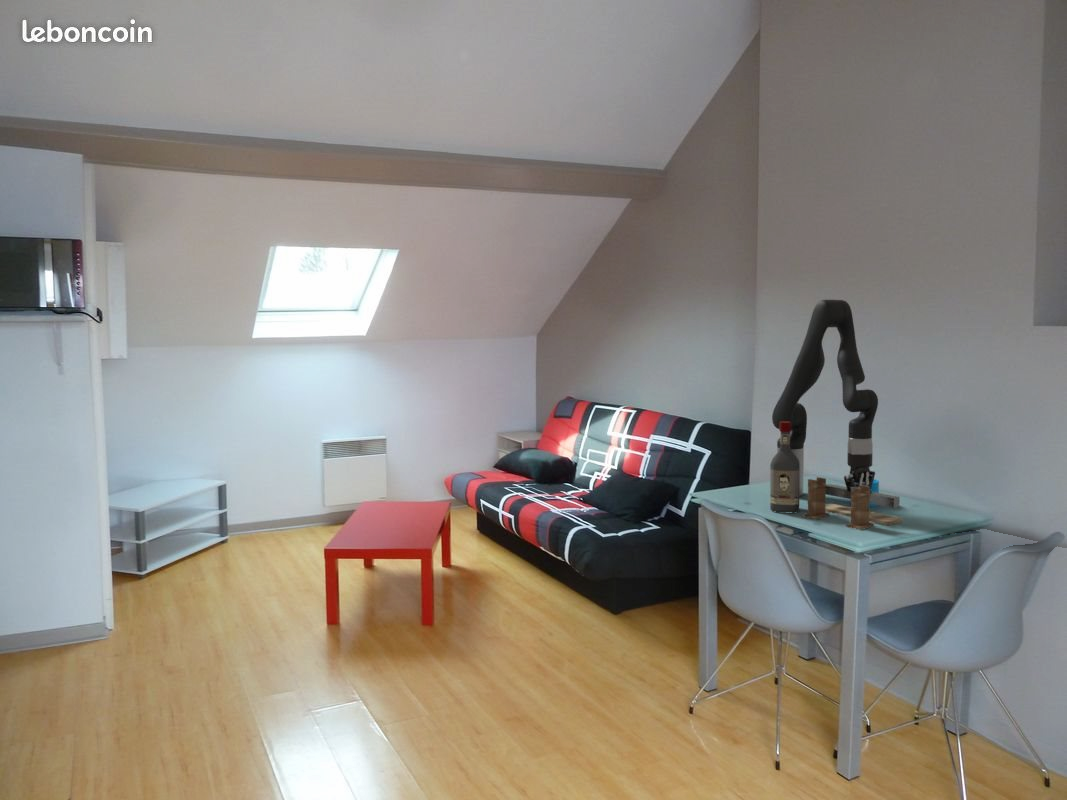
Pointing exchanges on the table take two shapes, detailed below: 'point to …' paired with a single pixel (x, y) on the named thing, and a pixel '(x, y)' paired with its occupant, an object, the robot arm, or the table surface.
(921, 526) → the table surface
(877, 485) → the mug
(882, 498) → the rail
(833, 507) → the mat
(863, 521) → the post
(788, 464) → the liquor
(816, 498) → the post
